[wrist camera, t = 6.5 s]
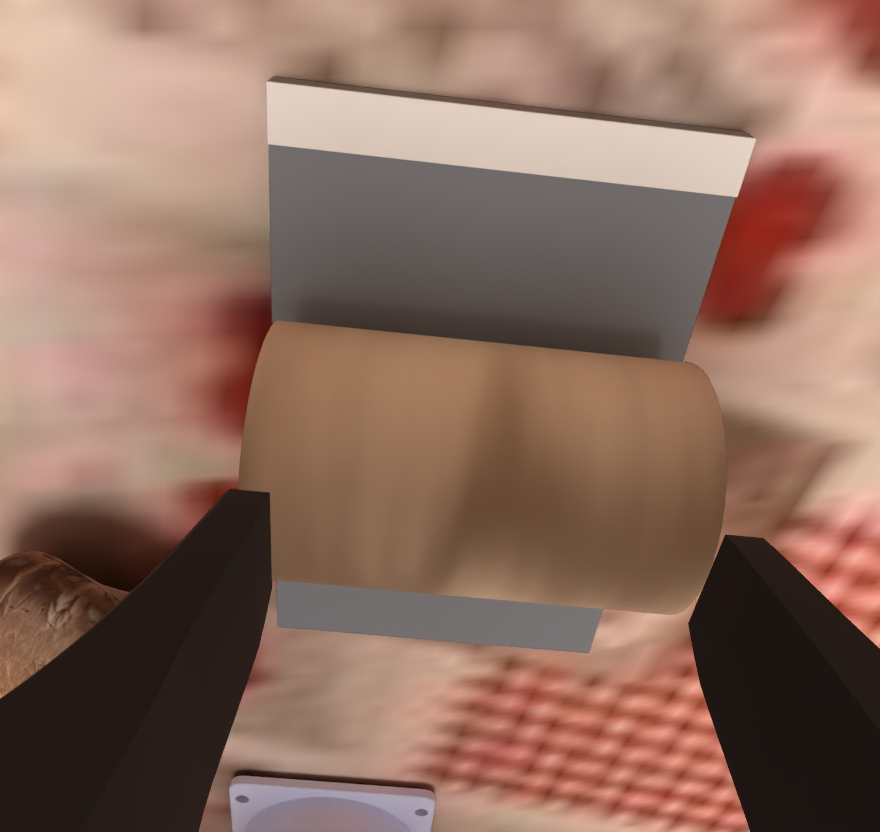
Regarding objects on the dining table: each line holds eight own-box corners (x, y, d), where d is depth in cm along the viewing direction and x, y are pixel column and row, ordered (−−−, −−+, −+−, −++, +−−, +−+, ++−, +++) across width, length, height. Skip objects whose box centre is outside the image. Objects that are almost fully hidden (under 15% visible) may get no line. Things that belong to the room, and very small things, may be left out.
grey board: (585, 638, 24) (589, 655, 24) (281, 612, 24) (276, 629, 23) (744, 131, 16) (755, 139, 15) (273, 76, 15) (266, 82, 15)
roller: (618, 502, 20) (668, 670, 16) (293, 472, 20) (243, 635, 15) (674, 320, 17) (756, 459, 13) (292, 279, 17) (231, 408, 12)
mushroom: (292, 624, 19) (87, 837, 16) (276, 696, 26) (128, 859, 22) (86, 438, 21) (-142, 595, 17) (119, 550, 27) (-42, 681, 24)
